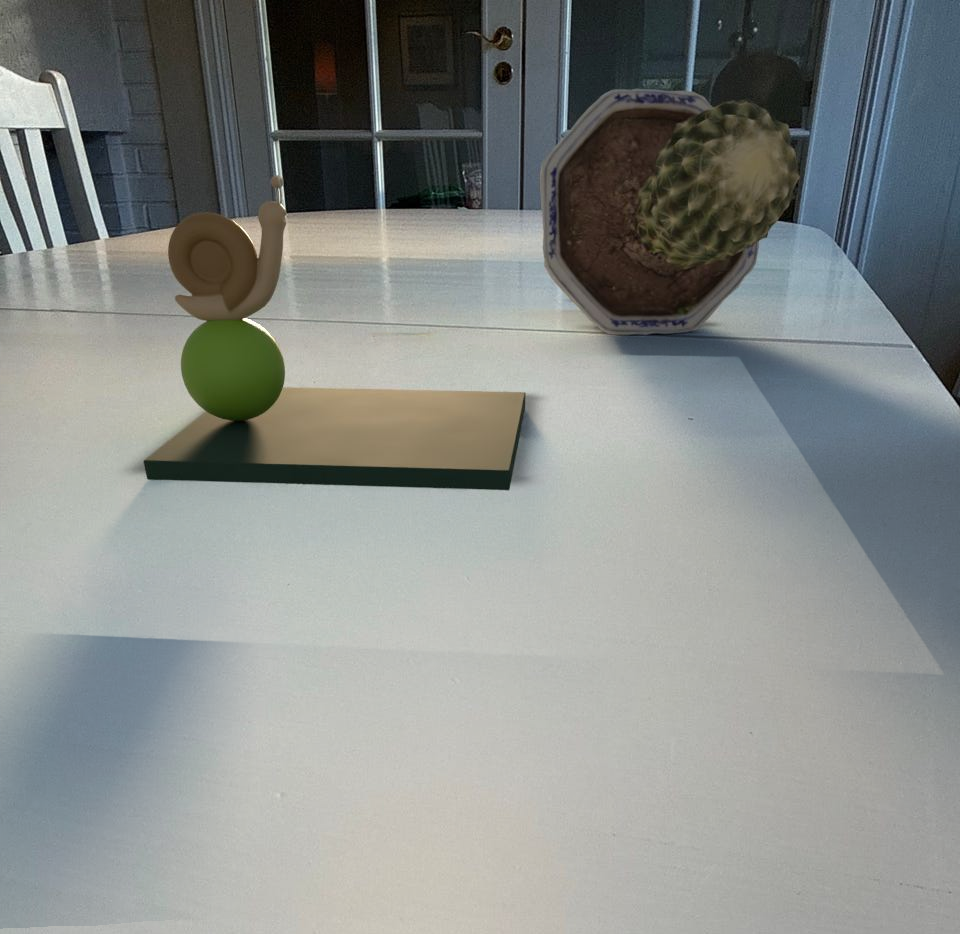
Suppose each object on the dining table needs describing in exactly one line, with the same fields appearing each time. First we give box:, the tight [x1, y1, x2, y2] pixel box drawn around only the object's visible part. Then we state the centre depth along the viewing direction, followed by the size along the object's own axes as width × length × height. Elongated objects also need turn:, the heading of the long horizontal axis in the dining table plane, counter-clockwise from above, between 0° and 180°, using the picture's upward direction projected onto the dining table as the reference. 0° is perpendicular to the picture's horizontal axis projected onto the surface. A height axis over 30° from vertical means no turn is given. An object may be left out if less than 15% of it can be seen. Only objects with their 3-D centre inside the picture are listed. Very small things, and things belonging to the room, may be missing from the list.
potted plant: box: [539, 88, 801, 336], centre depth 68 cm, size 18×18×30 cm
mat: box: [143, 386, 527, 491], centre depth 49 cm, size 18×14×1 cm
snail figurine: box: [167, 174, 288, 421], centre depth 47 cm, size 5×6×12 cm
